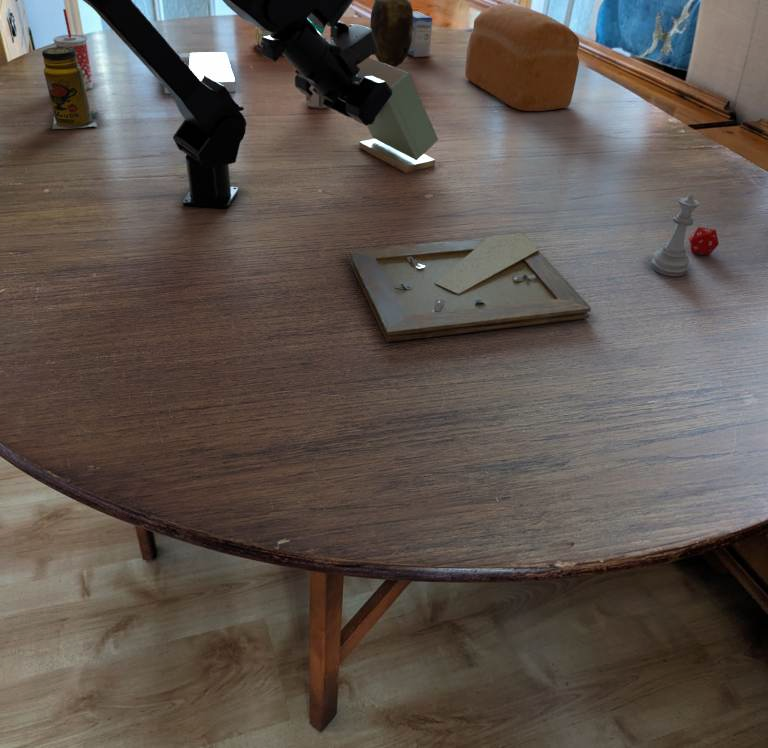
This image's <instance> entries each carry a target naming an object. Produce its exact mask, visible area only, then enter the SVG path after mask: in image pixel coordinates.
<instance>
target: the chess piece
mask: <svg viewBox="0 0 768 748" xmlns="http://www.w3.org/2000/svg"><path fill="white" fill-rule="evenodd" d="M694 197H695V196H694V194H692V193H691V194H688V195H687V197H681V198H679V199H678V204H679V207H680V211H679V212H678V214H675V215H674V216H673V219H672V221H673V222H674V223H675V224H676V225H675V227H674V230H673V232H672V235H671V237H670V238H669V240H668V241H667V242H665V243H663V244H662V248H660V249H658V250H657V251H655V252H654V254H653V258H652V259H651V262H650V266H651V268H652V269H653V270H654V271H655V272H657V273H658V274H661V275H664V276H669V277H680V276H683V275H685V274H686V273H687V271H688V267H689V266H688V265H689V264H690V259H689V256H688V255H687V254H686V252H687V248H686V247H685V237H686V232H687V228H688V227H690V226H693V224H694V222H695V220H694V218H693V214H692V213H693V212H694V210H695V209H696V208H698V207H699V206H700V202H699V200H697V199H695V198H694Z"/></svg>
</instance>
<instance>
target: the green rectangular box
mask: <svg viewBox="0 0 768 748" xmlns="http://www.w3.org/2000/svg"><path fill="white" fill-rule="evenodd" d="M357 66H358V67H359V69H360V71H359V72H358V74H357V76H359V77H362V78H364V77H367V76H373V77H376V78H378V79H380V80H383V81H385V82H386V83H387V84H388V85H389V87H390V88H391V89H392V95H391V97H390V98H389V99H388V101H387V102H386V104H385V105H384V106H383V108H382V109H381V110H380V112H379V113H378V115H377V116H376V117H375V121H374V122H373V123H372V124H369V125H367V126H366V127H367V129H368V131H369V133H370V135H371V137H372V139H376V140H378V141H380V142H382V143H384V144H386V145H388V146H390V147H392V148H394V149H395V150H397V151H399V152H401V153H403V154H405V155H407V156H409V157H411V158H413V159H415V160H418V159H419V158H420V157H421V156H422V155H423V154H425V153H426V152H427V151H429V149H431V148H432V147H433V146H434V145H435V144H437V142H438V141H439V138H438V136H437V133H436V131H435V128H434V126H433V124H432V123H431V120H430V118H429V116H428V113H427V111H426V108H425V106H424V104H423V102H422V99H421V97H420V94H419V93H418V90H417V88H416V85H415V84H414V81H413V78H412V76H411V74H410V72H407V71H404V70H403V69H401V68H400V69H399V68H397V67H392V66H390V65H387V64H385V63H382V62H380V61H378V59H375V58H372V57H371V56H369V57H368V58H367V59H365V60H364V61H363V62H361V63H360V64H358V65H357Z"/></svg>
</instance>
